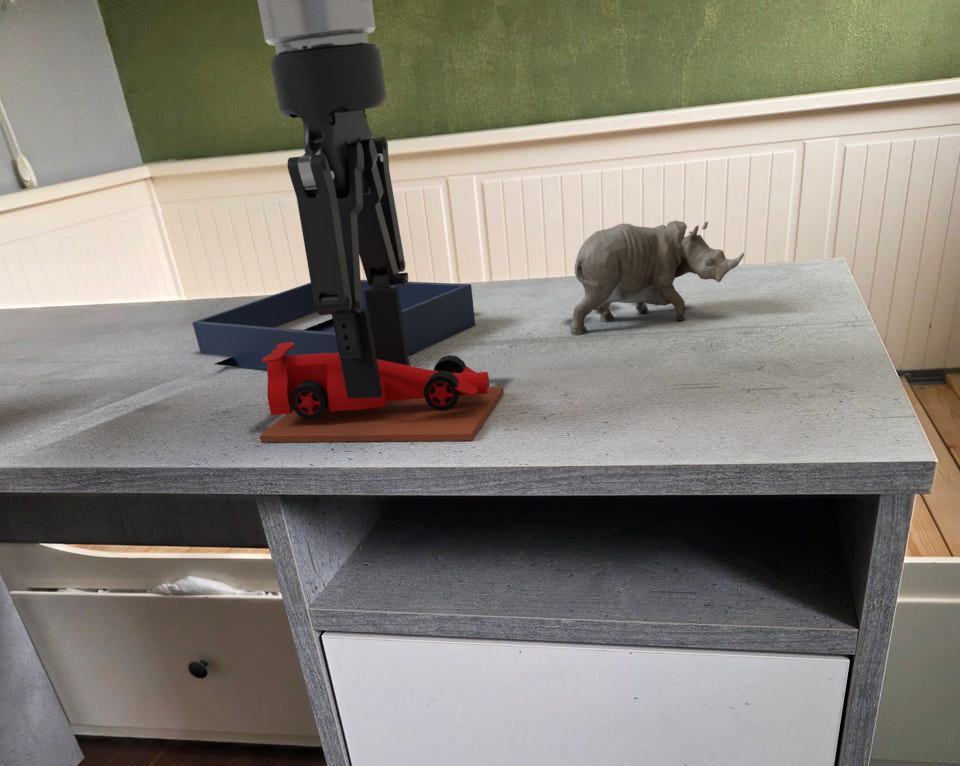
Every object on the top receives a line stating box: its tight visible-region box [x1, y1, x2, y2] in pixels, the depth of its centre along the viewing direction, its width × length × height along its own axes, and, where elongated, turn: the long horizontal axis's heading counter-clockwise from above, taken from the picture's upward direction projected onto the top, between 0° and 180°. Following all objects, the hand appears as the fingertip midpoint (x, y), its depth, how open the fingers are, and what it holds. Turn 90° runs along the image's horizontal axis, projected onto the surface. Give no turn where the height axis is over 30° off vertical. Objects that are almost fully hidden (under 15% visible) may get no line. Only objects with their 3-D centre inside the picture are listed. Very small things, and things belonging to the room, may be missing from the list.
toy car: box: [262, 342, 491, 419], centre depth 72 cm, size 6×18×5 cm, turn 84°
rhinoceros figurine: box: [569, 220, 745, 336], centre depth 89 cm, size 8×14×15 cm
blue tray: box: [191, 279, 476, 372], centre depth 95 cm, size 22×20×4 cm
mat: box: [259, 386, 505, 443], centre depth 74 cm, size 18×11×1 cm, turn 76°
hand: (379, 381), depth 72 cm, fingers closed on toy car, 6 cm apart
